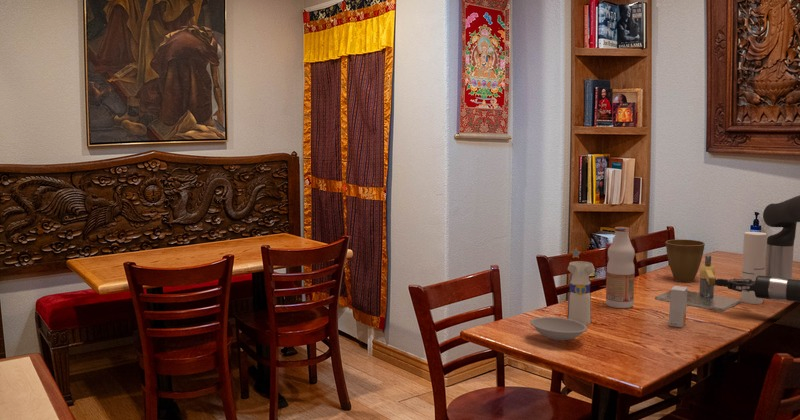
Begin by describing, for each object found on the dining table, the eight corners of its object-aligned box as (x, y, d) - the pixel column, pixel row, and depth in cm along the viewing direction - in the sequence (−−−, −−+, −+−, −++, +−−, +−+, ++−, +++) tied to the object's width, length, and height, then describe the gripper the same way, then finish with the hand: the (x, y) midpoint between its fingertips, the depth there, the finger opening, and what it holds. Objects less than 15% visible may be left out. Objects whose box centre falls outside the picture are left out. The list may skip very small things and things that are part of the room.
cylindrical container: (765, 304, 244) (769, 235, 241) (743, 303, 246) (747, 234, 243) (759, 299, 251) (763, 232, 248) (738, 298, 253) (741, 231, 250)
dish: (519, 339, 206) (519, 323, 206) (547, 329, 216) (548, 314, 215) (569, 353, 193) (570, 335, 193) (597, 342, 203) (597, 325, 202)
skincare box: (682, 328, 216) (684, 290, 215) (668, 326, 219) (670, 289, 217) (686, 323, 222) (687, 287, 220) (672, 321, 224) (673, 285, 222)
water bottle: (594, 325, 219) (596, 249, 216) (566, 324, 221) (568, 248, 218) (592, 318, 227) (594, 244, 224) (565, 317, 229) (567, 243, 226)
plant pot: (674, 274, 293) (675, 237, 291) (709, 280, 282) (711, 242, 281) (657, 280, 283) (659, 242, 281) (693, 286, 272) (694, 246, 271)
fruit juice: (610, 309, 239) (613, 229, 236) (602, 302, 249) (604, 225, 245) (637, 308, 240) (640, 229, 236) (627, 301, 249) (630, 225, 246)
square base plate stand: (675, 291, 264) (676, 250, 262) (740, 302, 247) (743, 258, 245) (654, 299, 252) (656, 256, 250) (722, 311, 235) (724, 265, 233)
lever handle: (699, 276, 255) (700, 264, 254) (713, 276, 253) (714, 265, 253) (704, 287, 237) (705, 275, 236) (719, 288, 235) (720, 276, 235)
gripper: (777, 273, 229) (722, 268, 241) (768, 279, 219) (711, 274, 230) (776, 296, 230) (721, 289, 241) (767, 302, 220) (710, 296, 231)
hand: (716, 282), depth 236 cm, fingers closed
